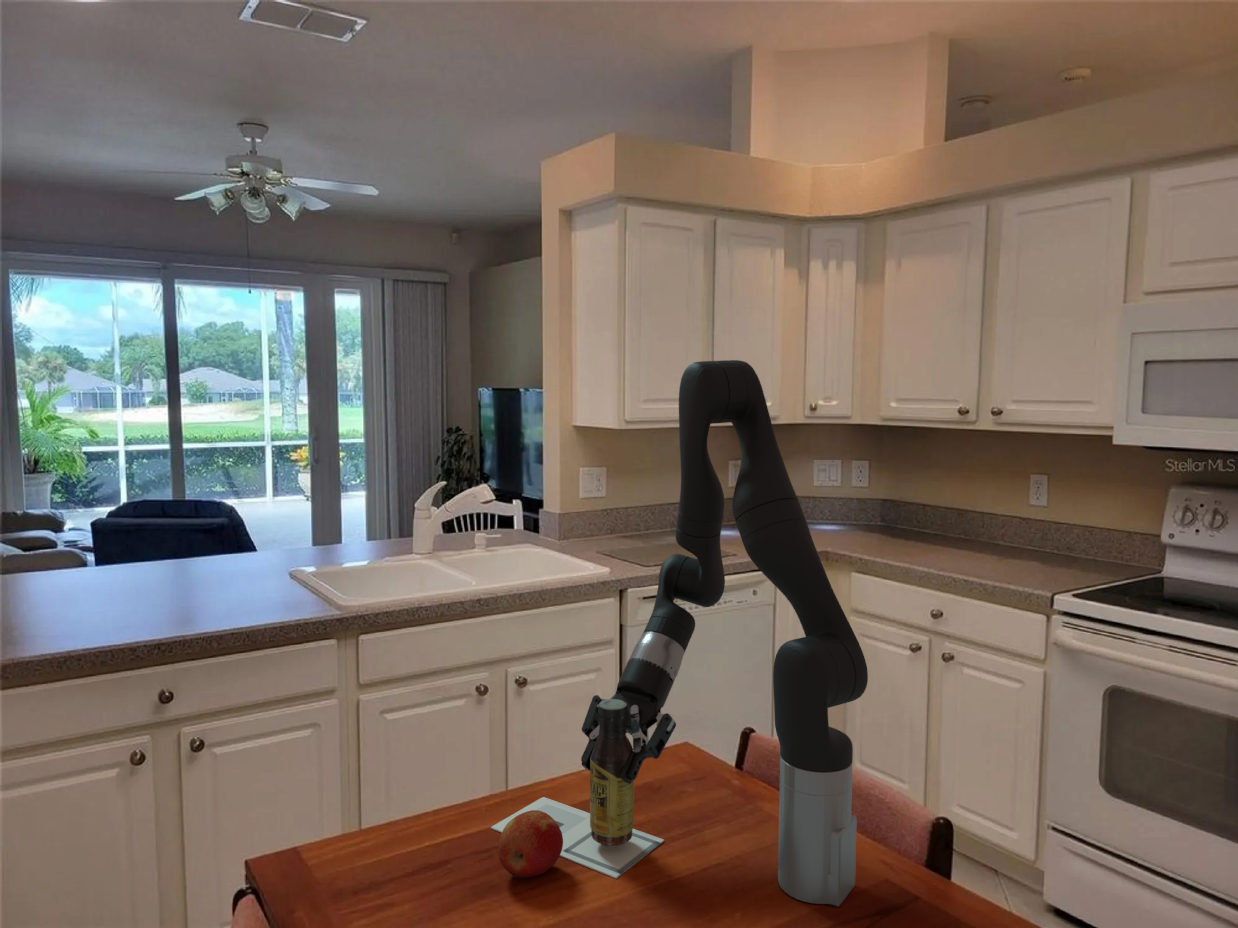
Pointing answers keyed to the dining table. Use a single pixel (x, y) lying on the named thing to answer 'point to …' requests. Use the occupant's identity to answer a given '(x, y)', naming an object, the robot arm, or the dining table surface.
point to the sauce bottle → (611, 778)
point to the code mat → (590, 839)
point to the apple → (530, 844)
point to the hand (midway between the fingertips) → (605, 773)
